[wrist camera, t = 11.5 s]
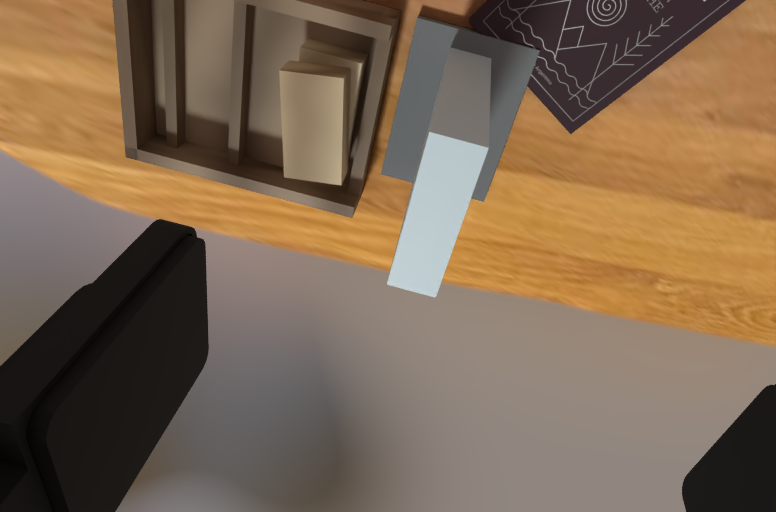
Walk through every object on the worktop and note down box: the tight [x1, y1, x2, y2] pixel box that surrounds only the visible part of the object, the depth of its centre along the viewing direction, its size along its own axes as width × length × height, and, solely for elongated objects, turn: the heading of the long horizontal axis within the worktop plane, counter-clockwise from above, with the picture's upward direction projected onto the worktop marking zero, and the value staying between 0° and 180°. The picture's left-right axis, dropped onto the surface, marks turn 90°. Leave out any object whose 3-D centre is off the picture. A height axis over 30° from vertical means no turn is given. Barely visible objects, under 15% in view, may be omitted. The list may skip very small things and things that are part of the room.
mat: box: [381, 15, 540, 202], centre depth 34 cm, size 7×10×1 cm
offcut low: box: [299, 39, 368, 160], centre depth 33 cm, size 4×7×2 cm, turn 168°
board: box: [387, 47, 491, 297], centre depth 29 cm, size 2×8×12 cm, turn 168°
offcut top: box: [279, 60, 351, 185], centre depth 32 cm, size 4×6×2 cm, turn 175°
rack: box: [113, 0, 401, 218], centre depth 33 cm, size 15×12×4 cm
